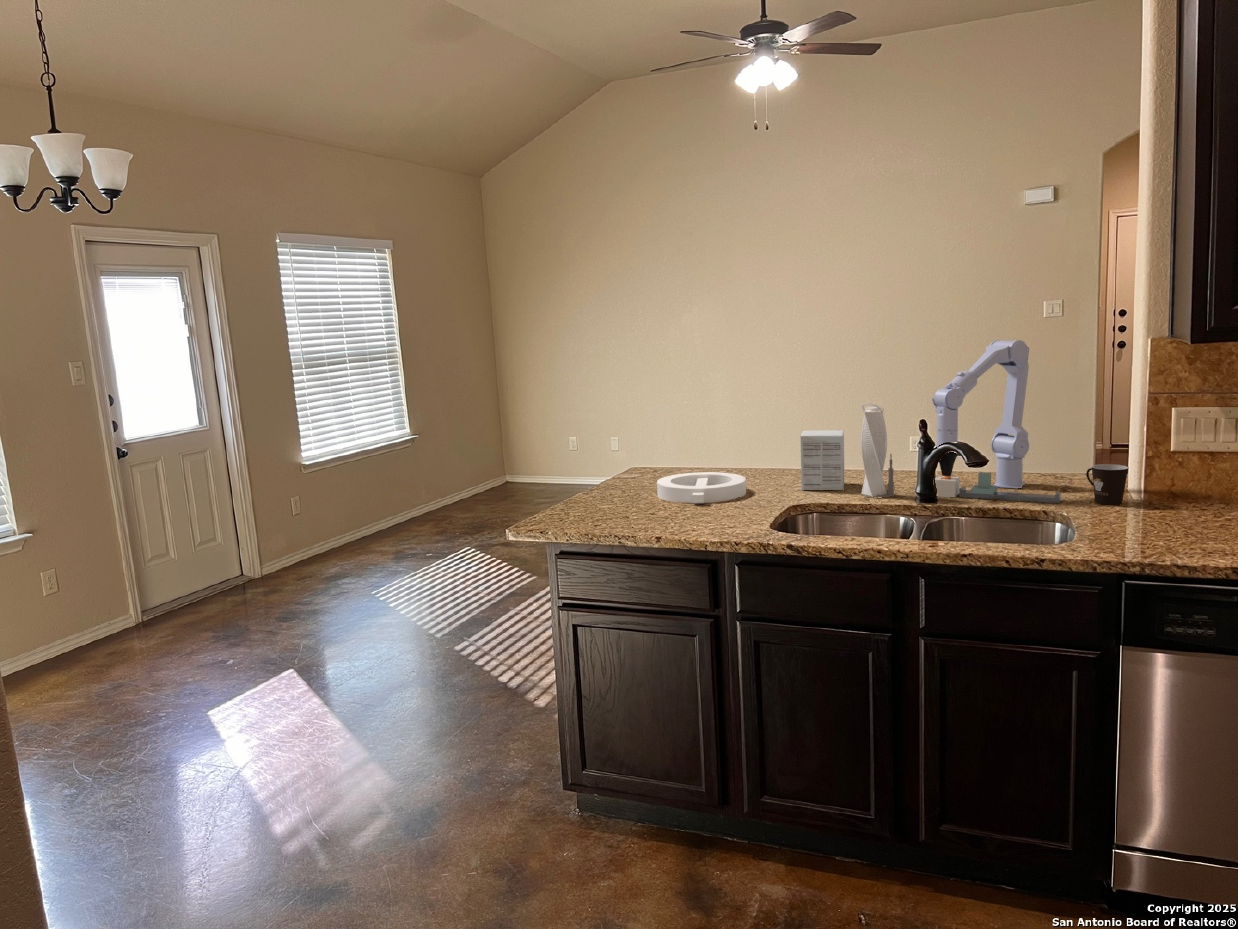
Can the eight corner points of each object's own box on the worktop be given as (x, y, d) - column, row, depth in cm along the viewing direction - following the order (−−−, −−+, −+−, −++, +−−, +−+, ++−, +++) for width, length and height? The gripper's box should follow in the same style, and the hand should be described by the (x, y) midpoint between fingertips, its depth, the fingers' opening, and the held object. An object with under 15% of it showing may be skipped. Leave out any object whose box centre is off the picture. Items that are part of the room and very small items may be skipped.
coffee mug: (1131, 506, 231) (1133, 469, 230) (1096, 506, 233) (1097, 470, 232) (1116, 497, 243) (1117, 462, 241) (1082, 497, 244) (1083, 462, 243)
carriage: (975, 489, 255) (975, 470, 254) (997, 490, 252) (997, 472, 251) (971, 493, 250) (971, 474, 249) (993, 494, 247) (994, 475, 246)
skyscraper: (872, 499, 256) (872, 404, 251) (854, 495, 263) (854, 402, 259) (895, 495, 259) (895, 402, 255) (877, 491, 267) (876, 400, 262)
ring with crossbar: (697, 508, 258) (697, 492, 257) (640, 495, 280) (639, 481, 280) (764, 493, 274) (764, 478, 274) (705, 483, 297) (704, 469, 296)
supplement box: (803, 483, 286) (802, 430, 283) (844, 483, 283) (844, 429, 280) (800, 491, 274) (799, 435, 271) (843, 491, 270) (843, 435, 267)
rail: (962, 494, 256) (962, 486, 256) (1060, 500, 242) (1060, 492, 242) (959, 497, 253) (959, 488, 253) (1058, 503, 239) (1059, 494, 239)
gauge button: (943, 481, 258) (943, 474, 258) (951, 481, 257) (951, 475, 256) (941, 482, 256) (941, 476, 256) (949, 483, 255) (950, 476, 254)
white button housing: (938, 492, 261) (938, 476, 260) (959, 493, 258) (959, 477, 257) (933, 496, 256) (933, 479, 255) (954, 497, 253) (955, 480, 252)
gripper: (952, 433, 246) (952, 481, 248) (969, 427, 257) (968, 472, 259) (927, 432, 250) (927, 479, 252) (945, 426, 261) (944, 470, 263)
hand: (946, 475), depth 256 cm, fingers closed, pressing on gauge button
